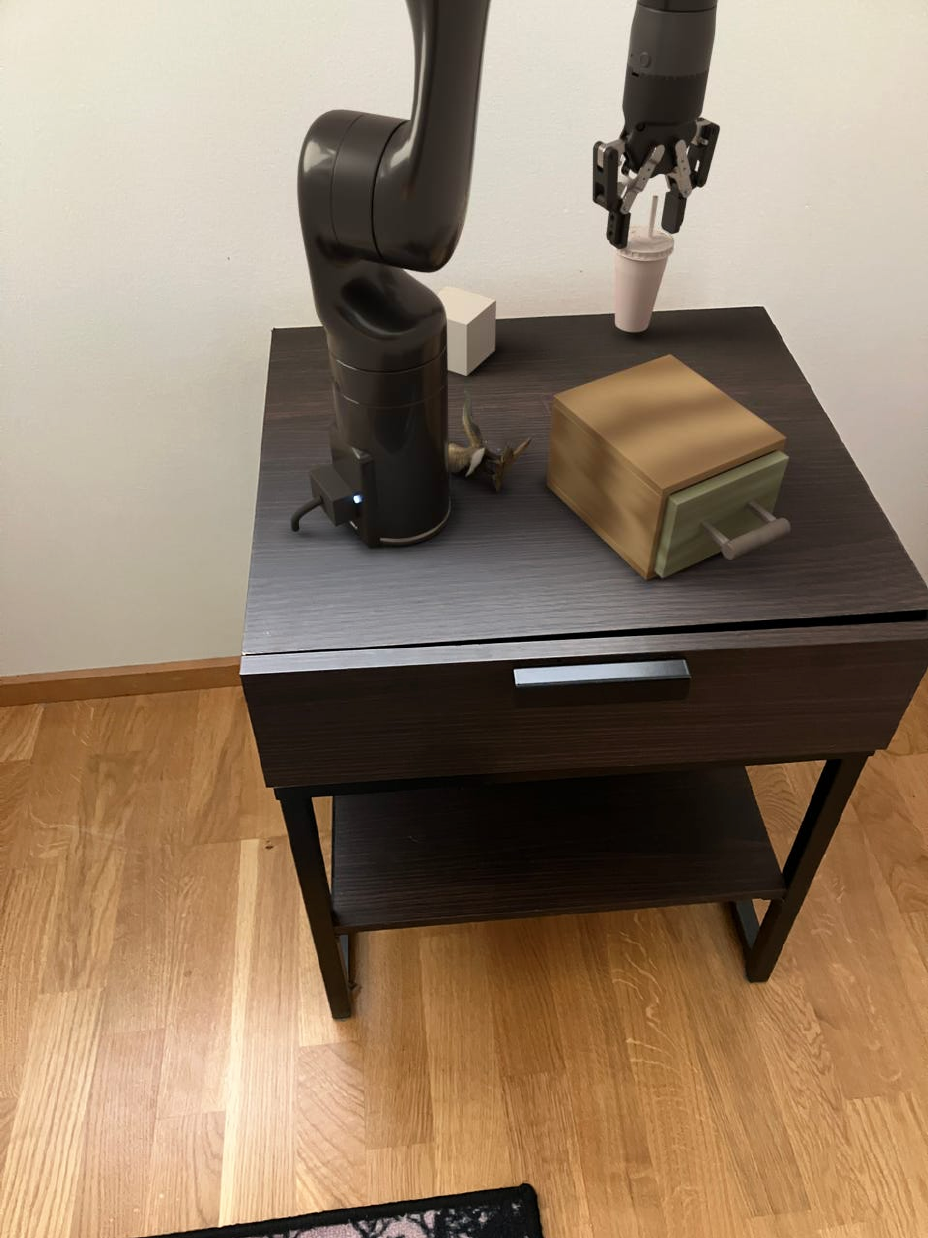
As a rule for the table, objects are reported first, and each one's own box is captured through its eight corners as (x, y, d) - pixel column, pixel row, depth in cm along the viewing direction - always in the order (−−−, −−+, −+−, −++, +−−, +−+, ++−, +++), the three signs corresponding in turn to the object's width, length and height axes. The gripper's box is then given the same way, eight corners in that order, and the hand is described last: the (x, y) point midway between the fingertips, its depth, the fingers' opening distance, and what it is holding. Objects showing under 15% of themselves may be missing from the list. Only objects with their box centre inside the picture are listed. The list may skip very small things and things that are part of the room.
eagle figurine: (541, 455, 90) (473, 402, 93) (525, 425, 84) (453, 369, 87) (488, 516, 91) (422, 462, 94) (468, 491, 84) (398, 433, 87)
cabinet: (760, 528, 85) (787, 437, 78) (645, 580, 80) (663, 488, 73) (654, 442, 94) (670, 353, 87) (546, 485, 89) (553, 394, 82)
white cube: (419, 360, 104) (417, 309, 100) (448, 335, 108) (447, 285, 103) (466, 376, 102) (466, 324, 98) (495, 350, 105) (496, 299, 101)
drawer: (802, 559, 81) (827, 485, 75) (695, 610, 77) (714, 535, 71) (667, 449, 91) (680, 377, 86) (567, 489, 87) (574, 416, 82)
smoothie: (658, 341, 104) (680, 211, 94) (599, 334, 105) (615, 205, 95) (662, 312, 108) (683, 186, 98) (605, 306, 109) (621, 180, 99)
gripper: (702, 36, 92) (674, 210, 105) (580, 59, 87) (565, 240, 99) (756, 57, 88) (720, 236, 100) (631, 83, 83) (609, 269, 95)
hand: (643, 237), depth 100 cm, fingers closed on smoothie, 6 cm apart
